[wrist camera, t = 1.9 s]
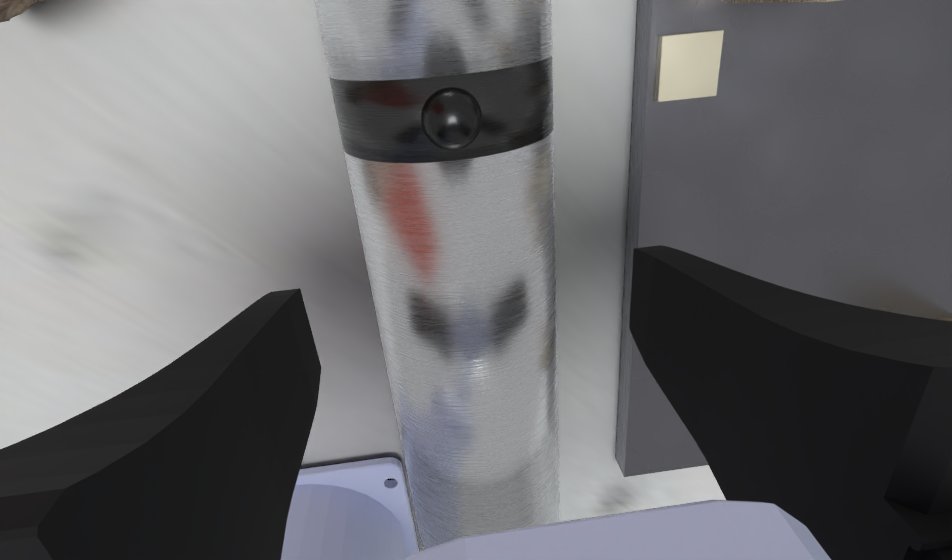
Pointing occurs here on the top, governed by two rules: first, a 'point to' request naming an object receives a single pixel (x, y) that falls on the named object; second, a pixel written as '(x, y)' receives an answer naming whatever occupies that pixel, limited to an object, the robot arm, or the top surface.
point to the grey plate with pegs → (788, 165)
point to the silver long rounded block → (458, 244)
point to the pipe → (14, 8)
